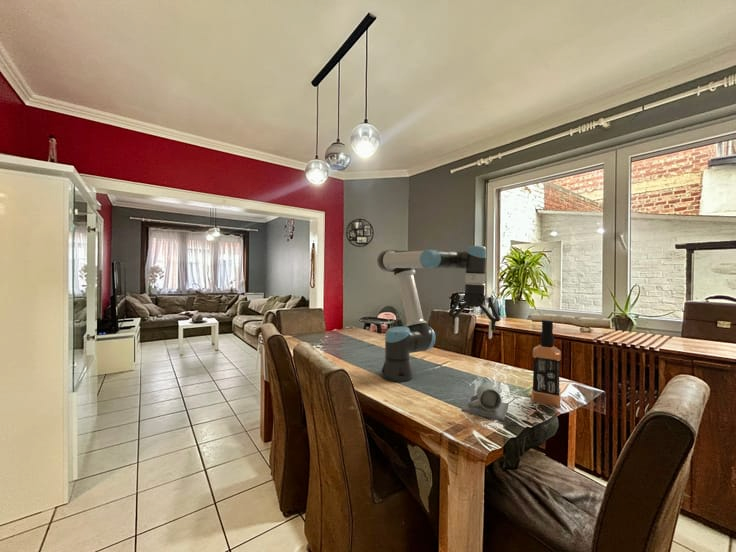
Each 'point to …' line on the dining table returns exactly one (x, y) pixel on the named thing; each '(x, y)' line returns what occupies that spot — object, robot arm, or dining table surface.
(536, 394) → the whiskey bottle
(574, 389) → the dining table surface
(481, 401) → the ceramic mug
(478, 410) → the trivet
